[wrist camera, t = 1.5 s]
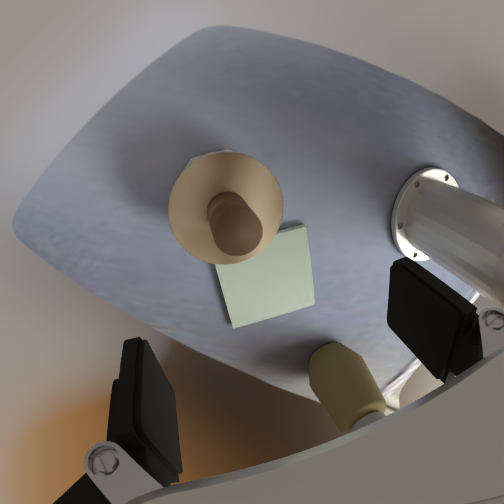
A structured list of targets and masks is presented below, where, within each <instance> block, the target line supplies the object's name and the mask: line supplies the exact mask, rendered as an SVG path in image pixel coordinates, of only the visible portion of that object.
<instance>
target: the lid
mask: <svg viewBox="0 0 504 504" xmlns="http://www.w3.org/2000/svg"><path fill="white" fill-rule="evenodd" d="M282 216H283V196H282V192H281V189H280V186H279V184H278V182H277V180H276V178H275V177H274V176H273V174H272V173H271V172H270V171H269V170H268V169H267V168H266V167H265V166H264V165H263V164H262V163H260V162H259V161H257V160H255V159H253V158H251V157H249V156H246V155H244V154H240V153H235V152H219V153H213V154H210V155H207V156H204V157H202V158H200V159H198V160H196V161H195V162H193V163H192V164H191V165H189V166H188V167H187V168H186V169H185V170H184V171H183V172H182V173H181V174H180V176H179V177H178V179H177V180H176V182H175V184H174V186H173V188H172V191H171V194H170V199H169V205H168V217H169V223H170V227H171V230H172V232H173V235H174V236H175V238H176V240H177V241H178V243H179V244H180V245H181V246H182V247H183V248H184V250H185V251H187V252H188V253H189V254H191V255H192V256H194V257H195V258H197V259H199V260H202V261H204V262H208V263H212V264H219V265H227V264H235V263H239V262H242V261H245V260H247V259H250V258H252V257H253V256H255V255H257V254H258V253H260V252H261V251H262V250H263V249H264V248H265V247H266V246H267V245H268V244H269V243H270V242H271V241H272V239H273V238H274V236H275V235H276V233H277V231H278V229H279V227H280V224H281V221H282Z"/></svg>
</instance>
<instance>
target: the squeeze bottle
mask: <svg viewBox="0 0 504 504" xmlns="http://www.w3.org/2000/svg"><path fill="white" fill-rule="evenodd" d="M309 381H310V387H311V388H312V390H313V392H314V393H315V395H316V396H317V398H318V399H319V401H320V402H321V404H322V405H323V407H324V408H325V410H326V411H327V413H328V414H329V416H330V417H331V418H332V420H333V421H334V423H335V424H336V426H337V427H338V429H339V430H340V431H341V432H343V433H346V434H349V433H351V432H354V431H356V430H358V429H360V428H363V427H365V426H367V425H369V424H371V423H373V422H375V421H378V420H380V419H382V418H384V417H386V415H385V414H384V411H385V409H386V401H385V399H384V397H383V395H382V394H381V392H380V390H379V388H378V386H377V384H376V382H375V380H374V378H373V377H372V375H371V373H370V371H369V369H368V367H367V365H366V364H365V362H364V360H363V358H362V356H360V355H359V354H357V353H356V352H354V351H352V350H351V349H349V348H347V347H346V346H344V345H342V344H341V343H329V344H326V345H324V346H322V347H320V348H319V349H318V350H316V351H315V352H314V353H313V354H312V356H311V358H310V360H309Z"/></svg>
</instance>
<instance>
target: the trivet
mask: <svg viewBox="0 0 504 504" xmlns="http://www.w3.org/2000/svg"><path fill="white" fill-rule="evenodd" d="M215 266H216V270H217V273H218V277H219V280H220V284H221V288H222V291H223V295H224V298H225V302H226V305H227V309H228V312H229V316H230V319H231V323H232V326H233V329H234V328H237V327H241V326H244V325H248V324H252V323H255V322H258V321H262V320H265V319H269V318H272V317H275V316H279V315H282V314H285V313H289V312H292V311H295V310H298V309H302V308H305V307H308V306H311V305H314V304H315V300H314V290H313V280H312V270H311V261H310V252H309V243H308V235H307V227H306V226H305V225H304V224H302V225H298V226H294V227H290V228H286V229H283V230H279V231H277V233H276V235H275V236H274V238H273V239H272V241H271V242H270V243H269V244H268V245H267V246H266V247H265V248H264V249H263V250H262V251H261V252H260V253H258V254H257V255H255V256H253V257H252V258H250V259H247V260H245V261H242V262H239V263H235V264H227V265H219V264H215Z"/></svg>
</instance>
